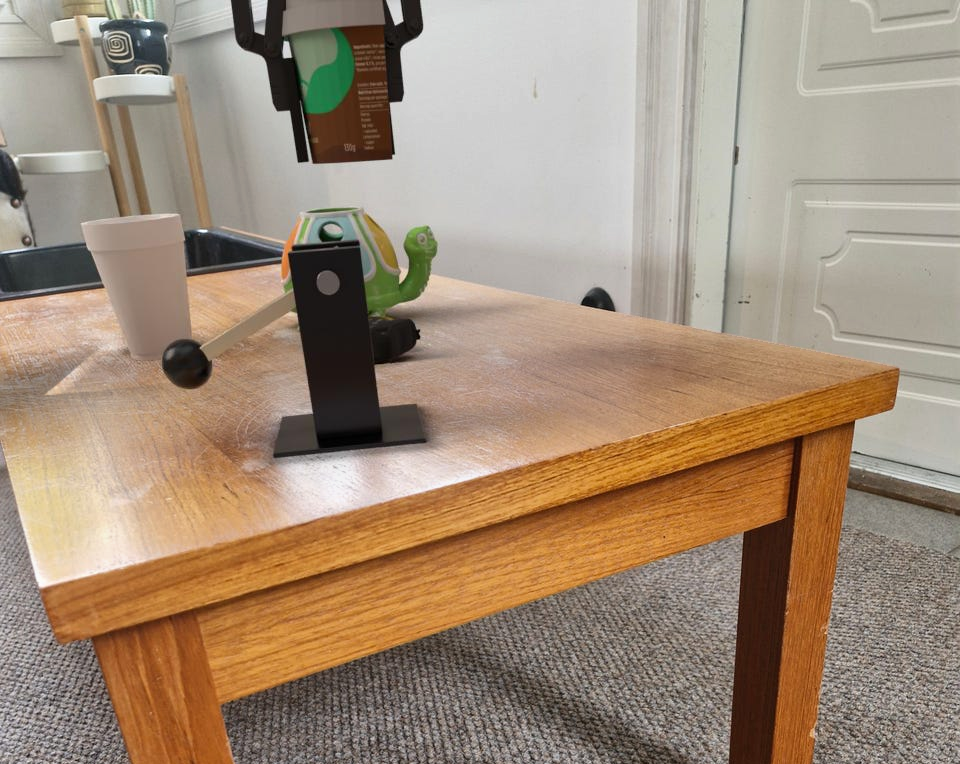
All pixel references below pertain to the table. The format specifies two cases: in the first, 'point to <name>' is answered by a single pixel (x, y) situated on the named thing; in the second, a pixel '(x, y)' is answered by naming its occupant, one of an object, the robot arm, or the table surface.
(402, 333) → the tape measure
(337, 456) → the table surface
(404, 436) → the bracket
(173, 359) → the lever
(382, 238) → the turtle holder
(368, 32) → the food container
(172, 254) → the foam cup
